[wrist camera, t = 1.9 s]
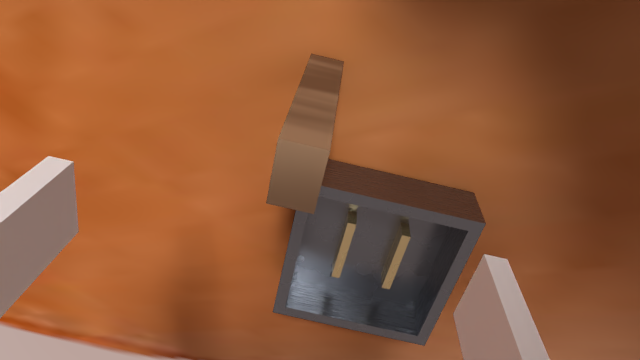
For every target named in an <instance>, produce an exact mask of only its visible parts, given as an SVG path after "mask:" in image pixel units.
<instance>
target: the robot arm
mask: <svg viewBox="0 0 640 360" xmlns="http://www.w3.org/2000/svg"><path fill="white" fill-rule="evenodd" d="M78 232H79V231H78V217H77V204H76V190H75V176H74V163H73V161H68V160H64V159H60V158H55V157H51V156H48V157H47V158H45V159H44V160H43V161H41V162H40V163H39V164H37V165H36V166H35V167H33V168H32V169H31V170H29V171H28V172H27V173H25V174H24V175H23V176H21V177H20V178H19V179H18V180H16V181H15V182H14V183H12V184H11V185H10V186H8V187H7V188H6V189H4V190H3V191H2V192H0V318H1V317H2V316H3V314H4V313H5V312H6V311H7V310H8V309H9V308H10V307H11V306H12V305H13V303H14V302H15V301H16V300H17V299H18V298H19V297H20V296H21V295H22V294H23V292H24V291H25V290H26V289H27V288H28V287H29V286H30V285H31V284H32V283H33V281H34V280H35V279H36V278H37V277H38V276H39V275H40V274H41V273H42V271H43V270H44V269H45V268H46V267H47V266H48V265H49V264H50V263H51V262H52V260H53V259H54V258H55V257H56V256H57V255H58V254H59V253H60V252H61V251H62V249H63V248H64V247H65V246H66V245H67V244H68V243H69V242H70V241H71V240H72V238H73V237H74V236H75V235H76V234H77V233H78ZM453 316H454V320H455V324H456V329H457V333H458V338H459V342H460V346H461V351H462V355H463V359H464V360H550V359H549V356H548V354H547V352H546V349H545V347H544V345H543V342H542V340H541V338H540V335H539V333H538V331H537V328H536V326H535V323H534V321H533V319H532V316H531V314H530V312H529V309H528V307H527V305H526V302H525V300H524V298H523V295H522V293H521V290H520V288H519V286H518V283H517V281H516V279H515V276H514V274H513V272H512V269H511V267H510V265H509V262H508V260H507V259H504V258H500V257H495V256H491V255H486V254H484V255H483V257H482V259H481V261H480V263H479V265H478V267H477V269H476V271H475V273H474V275H473V276H472V278H471V280H470V282H469V284H468V286H467V288H466V290H465V292H464V294H463V296H462V298H461V300H460V302H459V303H458V305H457V307H456V309H455V311H454V313H453Z"/></svg>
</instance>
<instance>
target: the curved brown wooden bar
mask: <svg viewBox="0 0 640 360" xmlns="http://www.w3.org/2000/svg"><path fill="white" fill-rule="evenodd" d="M343 64H344V61H340V60H335V59H331V58H327V57H323V56H319V55H315V54H311V56H310V59H309V61H308V64H307V67H306V69H305V72H304V74H303V77H302V79H301V82H300V84H299V87H298V89H297V92H296V94H295V97H294V100H293V102H292V105H291V107H290V110H289V112H288V115H287V117H286V120H285V122H284V125H283V127H282V130H281V133H280V135H279V138H278V142H277V147H276V153H275V158H274V164H273V169H272V175H271V180H270V185H269V191H268V196H267V202H266V203H267V204H271V205H276V206H280V207H285V208H289V209H293V210H298V211H302V212H307V213H311V214H314V212H315V208H316V204H317V200H318V196H319V193H320V189H321V185H322V181H323V177H324V173H325V169H326V165H327V161H328V157H329V153H330V148H331V142H332V135H333V129H334V122H335V116H336V109H337V103H338V96H339V90H340V83H341V77H342V70H343Z"/></svg>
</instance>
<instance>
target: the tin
mask: <svg viewBox="0 0 640 360" xmlns="http://www.w3.org/2000/svg"><path fill="white" fill-rule="evenodd" d="M485 224H486V223H485V220H484V218H483V215H482V213H481V210H480V207H479V205H478V202H477V200H476V197H475V194H474V193H472V192H468V191H463V190H459V189H455V188H450V187H446V186H442V185H438V184H433V183H429V182H425V181H420V180H416V179H412V178H408V177H403V176H399V175H395V174H390V173H386V172H382V171H377V170H373V169H369V168H365V167H360V166H356V165H352V164H347V163H343V162H339V161H335V160H330V159H328V161H327V165H326V169H325V173H324V177H323V181H322V185H321V189H320V193H319V196H318V200H317V204H316V208H315V212H314V214H311V213H307V212H302V211H298V210H296V212H295V217H294V221H293V225H292V230H291V234H290V239H289V243H288V247H287V252H286V256H285V261H284V265H283V269H282V274H281V278H280V282H279V287H278V291H277V296H276V300H275V304H274V309H273V312H274V313H279V314H284V315H288V316H293V317H297V318H302V319H306V320H311V321H315V322H320V323H324V324H329V325H333V326H338V327H342V328H347V329H351V330H356V331H360V332H365V333H369V334H374V335H378V336H383V337H388V338H392V339H397V340H401V341H406V342H410V343H415V344H419V345H425V343H426V341H427V340H428V338H429V336H430V334H431V332H432V330H433V328H434V326H435V324H436V322H437V320H438V318H439V316H440V314H441V312H442V310H443V308H444V306H445V304H446V302H447V300H448V298H449V296H450V294H451V292H452V290H453V288H454V286H455V284H456V282H457V280H458V278H459V276H460V274H461V272H462V270H463V268H464V266H465V264H466V262H467V260H468V258H469V256H470V254H471V252H472V250H473V248H474V246H475V244H476V242H477V240H478V238H479V236H480V234H481V232H482V230H483V228H484V226H485Z"/></svg>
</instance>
